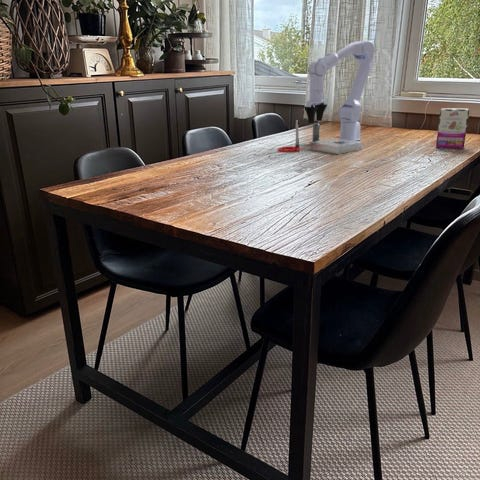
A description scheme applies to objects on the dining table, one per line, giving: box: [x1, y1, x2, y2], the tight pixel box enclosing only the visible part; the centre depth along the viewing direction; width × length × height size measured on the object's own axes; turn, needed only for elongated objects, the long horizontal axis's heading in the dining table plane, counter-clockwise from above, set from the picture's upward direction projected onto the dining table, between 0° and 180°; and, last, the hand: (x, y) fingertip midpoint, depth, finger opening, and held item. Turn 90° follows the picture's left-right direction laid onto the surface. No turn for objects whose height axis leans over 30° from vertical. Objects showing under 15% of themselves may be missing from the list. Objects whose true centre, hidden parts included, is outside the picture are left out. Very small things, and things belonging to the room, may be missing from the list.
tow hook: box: [277, 119, 300, 153], centre depth 201 cm, size 8×13×9 cm
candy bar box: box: [435, 107, 470, 150], centre depth 199 cm, size 11×5×16 cm, turn 68°
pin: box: [311, 122, 321, 142], centre depth 215 cm, size 3×3×9 cm
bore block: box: [309, 137, 363, 155], centre depth 203 cm, size 16×16×3 cm
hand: (315, 121), depth 210 cm, fingers open, 7 cm apart
